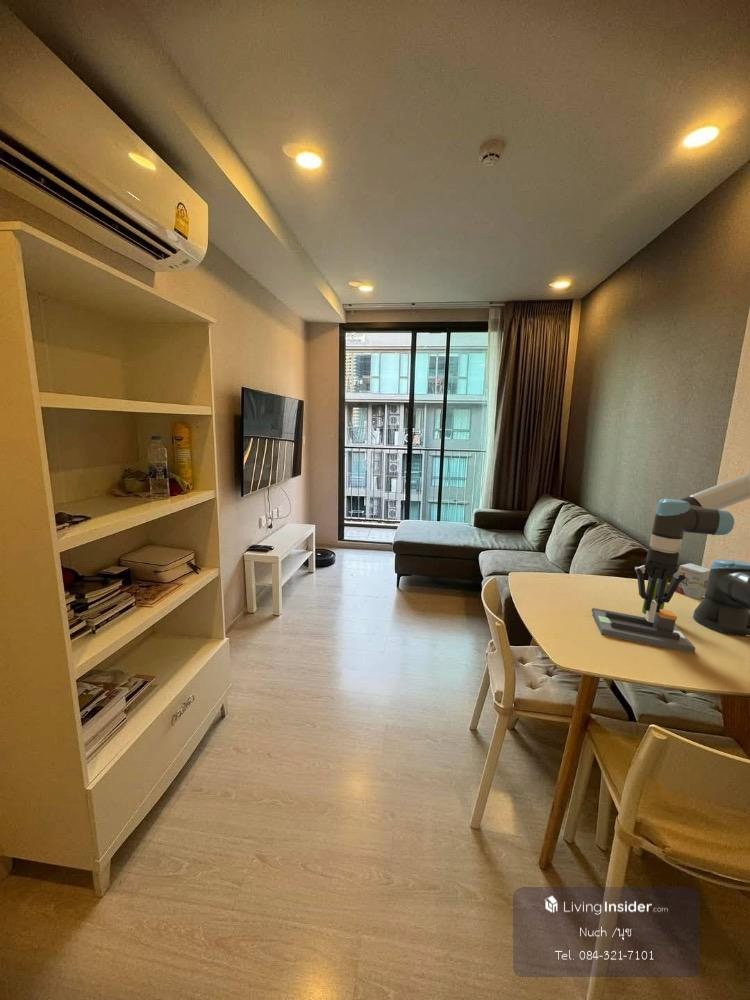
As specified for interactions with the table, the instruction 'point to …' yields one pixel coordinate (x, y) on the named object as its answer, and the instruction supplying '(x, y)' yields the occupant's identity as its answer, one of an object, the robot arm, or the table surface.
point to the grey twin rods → (610, 611)
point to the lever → (664, 620)
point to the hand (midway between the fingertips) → (649, 620)
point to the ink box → (693, 580)
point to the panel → (641, 636)
